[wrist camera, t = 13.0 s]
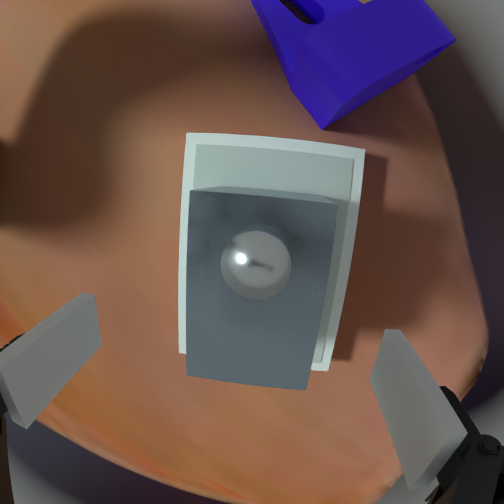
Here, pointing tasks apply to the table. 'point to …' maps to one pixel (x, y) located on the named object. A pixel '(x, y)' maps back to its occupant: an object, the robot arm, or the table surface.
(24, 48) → the table surface
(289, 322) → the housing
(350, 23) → the bracket
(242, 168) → the tray
